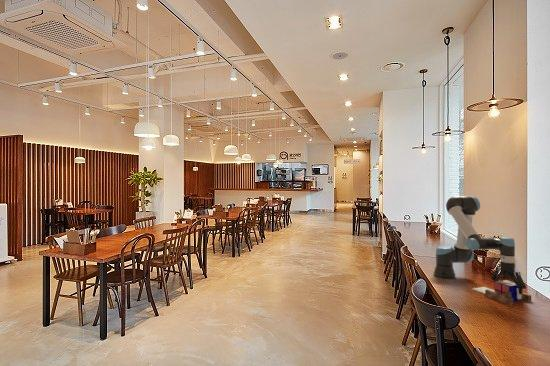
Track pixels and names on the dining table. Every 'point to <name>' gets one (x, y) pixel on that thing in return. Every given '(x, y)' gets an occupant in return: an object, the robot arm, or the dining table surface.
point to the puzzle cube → (507, 288)
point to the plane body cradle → (506, 296)
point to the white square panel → (482, 289)
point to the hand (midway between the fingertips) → (507, 295)
